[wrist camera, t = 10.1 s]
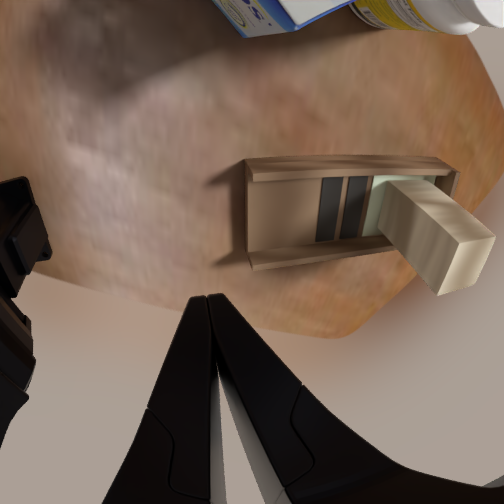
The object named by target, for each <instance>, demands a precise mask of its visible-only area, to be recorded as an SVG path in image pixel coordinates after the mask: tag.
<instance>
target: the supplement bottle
mask: <svg viewBox="0 0 504 504" xmlns="http://www.w3.org/2000/svg"><path fill="white" fill-rule="evenodd" d="M348 5H349V6H350V8H351V9H352V11H353V12H354V13H355V14H356V15H357V16H358V17H359V18H360V19H361V20H363V21H364V22H366V23H367V24H369V25H371V26H374V27H377V28H382V29H397V30H415V31H428V32H437V33H445V34H455V35H463V34H467V33H471V32H473V31H474V30H476V29H477V28H478V27H479V26H480V25H482V26H488V27H495V28H504V0H356V1H354V2H352V3H350V4H348Z"/></svg>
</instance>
